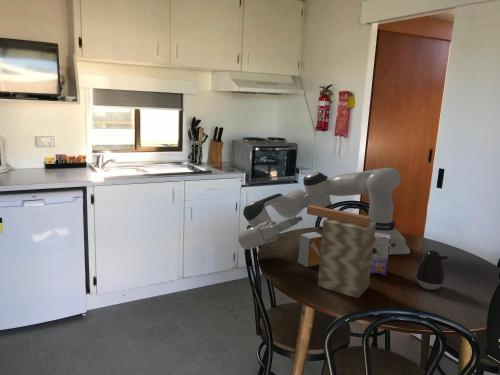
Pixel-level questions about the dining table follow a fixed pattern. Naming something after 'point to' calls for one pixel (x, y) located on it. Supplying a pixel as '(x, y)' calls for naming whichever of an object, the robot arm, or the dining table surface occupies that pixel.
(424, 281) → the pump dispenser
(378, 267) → the candy box
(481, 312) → the dining table surface
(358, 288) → the stand
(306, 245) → the small box
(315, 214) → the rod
